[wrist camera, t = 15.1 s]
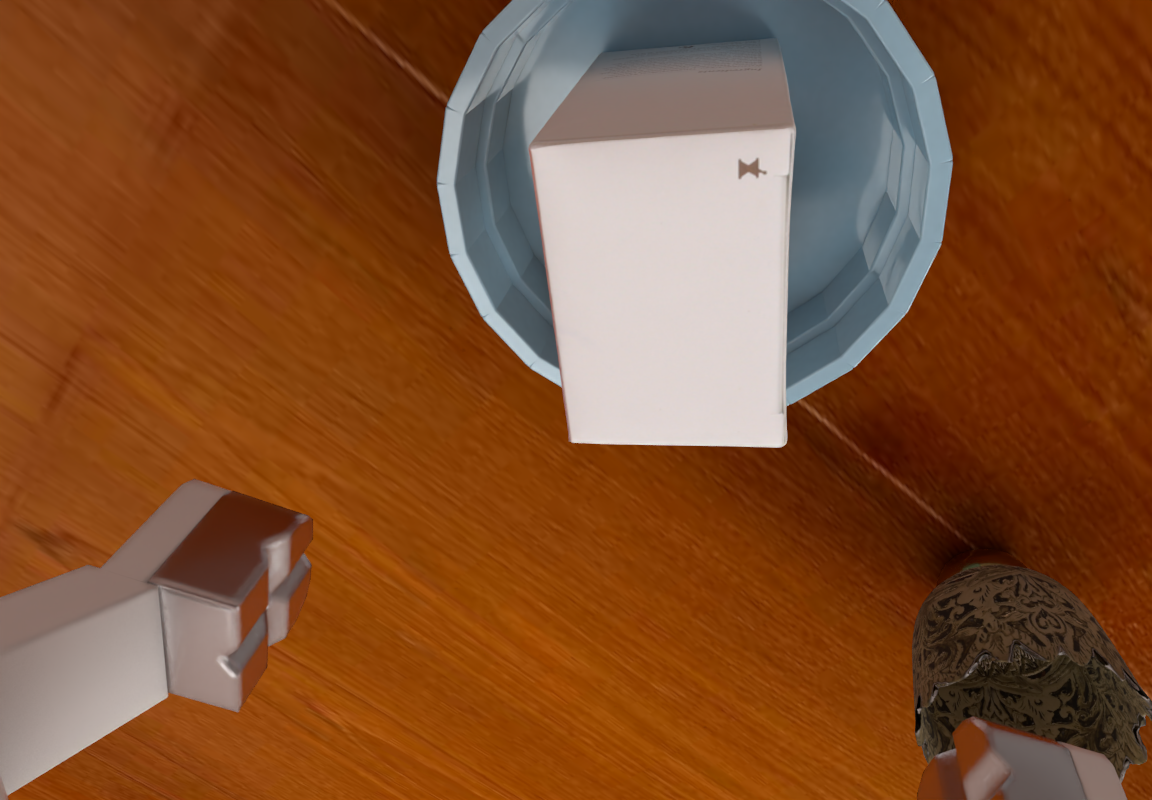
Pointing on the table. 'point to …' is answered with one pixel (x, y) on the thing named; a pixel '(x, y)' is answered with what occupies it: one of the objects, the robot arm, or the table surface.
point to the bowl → (820, 171)
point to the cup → (1021, 662)
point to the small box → (671, 244)
